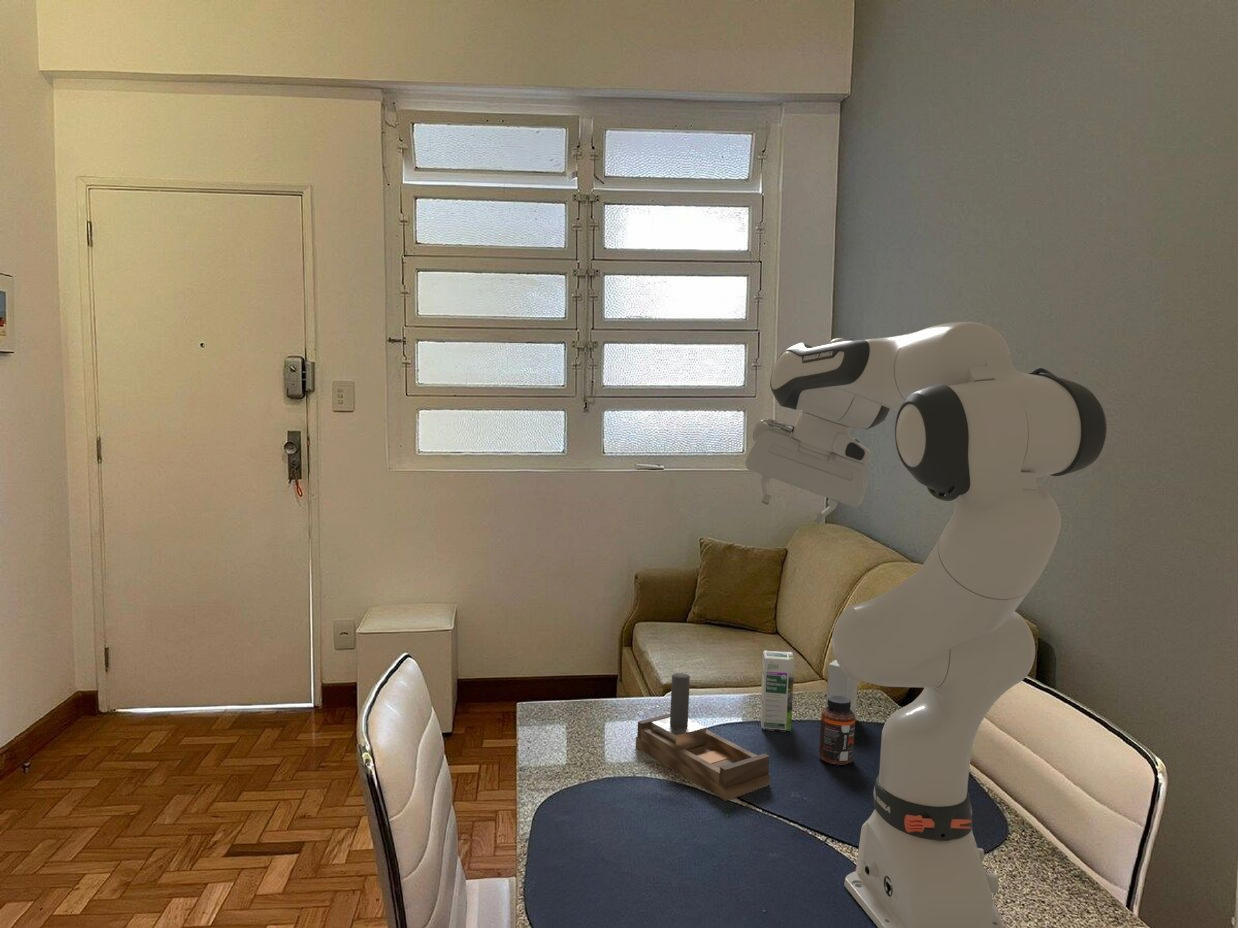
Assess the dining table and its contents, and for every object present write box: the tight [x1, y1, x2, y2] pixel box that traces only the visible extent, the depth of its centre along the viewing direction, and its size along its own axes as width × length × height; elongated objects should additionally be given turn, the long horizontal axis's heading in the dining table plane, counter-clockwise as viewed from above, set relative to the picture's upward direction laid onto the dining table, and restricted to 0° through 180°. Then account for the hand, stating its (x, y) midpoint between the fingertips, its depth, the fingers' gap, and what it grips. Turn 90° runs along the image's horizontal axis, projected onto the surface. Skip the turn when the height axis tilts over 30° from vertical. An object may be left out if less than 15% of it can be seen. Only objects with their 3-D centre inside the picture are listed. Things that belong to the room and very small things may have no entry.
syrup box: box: [759, 650, 795, 731], centre depth 169 cm, size 6×6×14 cm
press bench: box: [635, 713, 771, 801], centre depth 150 cm, size 24×10×5 cm, turn 36°
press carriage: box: [651, 672, 707, 749], centre depth 154 cm, size 7×7×12 cm
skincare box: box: [825, 659, 858, 717], centre depth 173 cm, size 6×4×12 cm
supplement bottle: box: [818, 695, 856, 765], centre depth 154 cm, size 6×6×11 cm
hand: (790, 512), depth 144 cm, fingers open, 8 cm apart
